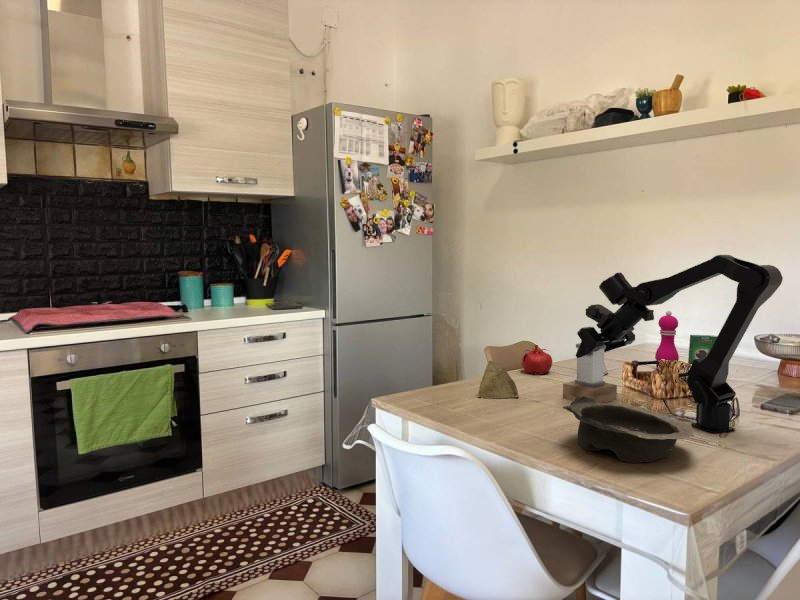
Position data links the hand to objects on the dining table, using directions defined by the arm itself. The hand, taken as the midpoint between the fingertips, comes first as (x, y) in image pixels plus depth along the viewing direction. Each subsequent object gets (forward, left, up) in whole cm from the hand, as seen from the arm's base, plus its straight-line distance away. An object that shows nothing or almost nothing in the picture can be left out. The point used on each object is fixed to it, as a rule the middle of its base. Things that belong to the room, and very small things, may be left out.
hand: (587, 354), depth 162 cm
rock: (+8, +22, -12) cm, 27 cm away
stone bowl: (-38, +16, -12) cm, 43 cm away
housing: (-1, 0, -8) cm, 8 cm away
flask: (+26, -22, -12) cm, 36 cm away
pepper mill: (+23, -47, -12) cm, 53 cm away
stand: (-1, 0, -12) cm, 12 cm away
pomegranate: (+33, -4, -12) cm, 35 cm away
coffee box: (+13, -52, -12) cm, 55 cm away
